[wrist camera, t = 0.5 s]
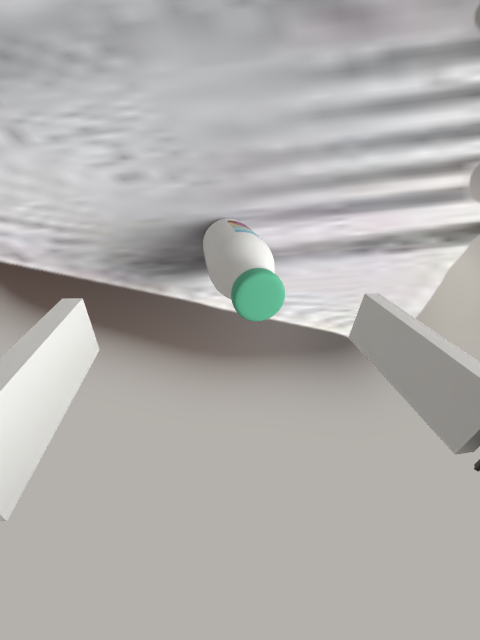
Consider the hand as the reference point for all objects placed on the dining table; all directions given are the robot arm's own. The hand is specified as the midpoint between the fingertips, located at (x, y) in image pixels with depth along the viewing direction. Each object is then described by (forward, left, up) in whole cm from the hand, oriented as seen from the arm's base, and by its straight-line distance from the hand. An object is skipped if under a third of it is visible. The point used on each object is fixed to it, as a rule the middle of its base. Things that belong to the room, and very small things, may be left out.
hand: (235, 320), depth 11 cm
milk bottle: (+3, +3, -28) cm, 28 cm away
